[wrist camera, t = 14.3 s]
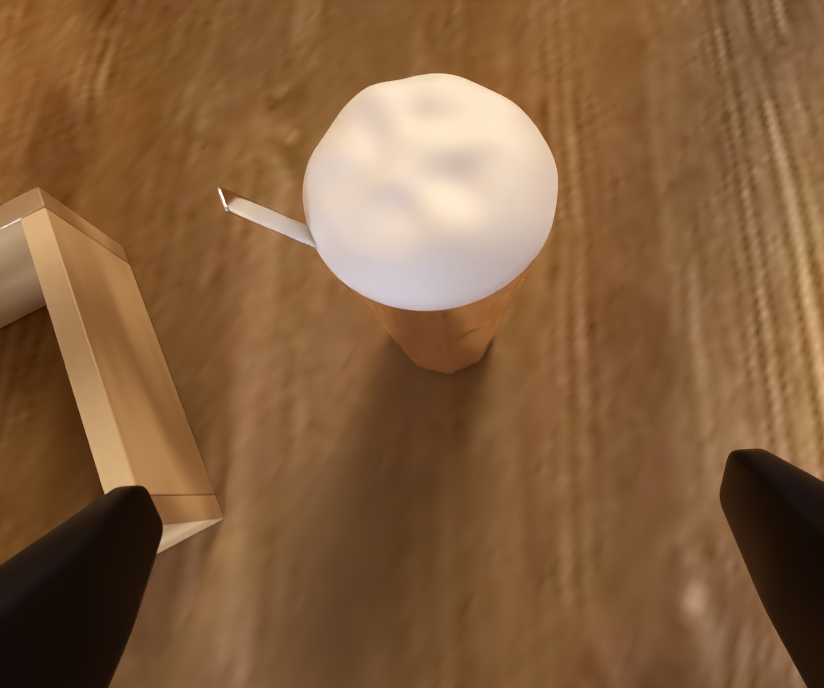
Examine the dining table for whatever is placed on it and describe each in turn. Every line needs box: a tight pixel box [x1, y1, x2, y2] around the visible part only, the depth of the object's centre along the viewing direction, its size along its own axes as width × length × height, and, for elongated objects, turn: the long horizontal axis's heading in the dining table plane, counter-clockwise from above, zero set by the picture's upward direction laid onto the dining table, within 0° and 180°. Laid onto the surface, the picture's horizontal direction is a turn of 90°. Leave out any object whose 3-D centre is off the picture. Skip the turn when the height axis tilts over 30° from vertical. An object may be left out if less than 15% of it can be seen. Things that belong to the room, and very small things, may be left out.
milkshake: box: [217, 74, 558, 374], centre depth 12 cm, size 4×5×10 cm
